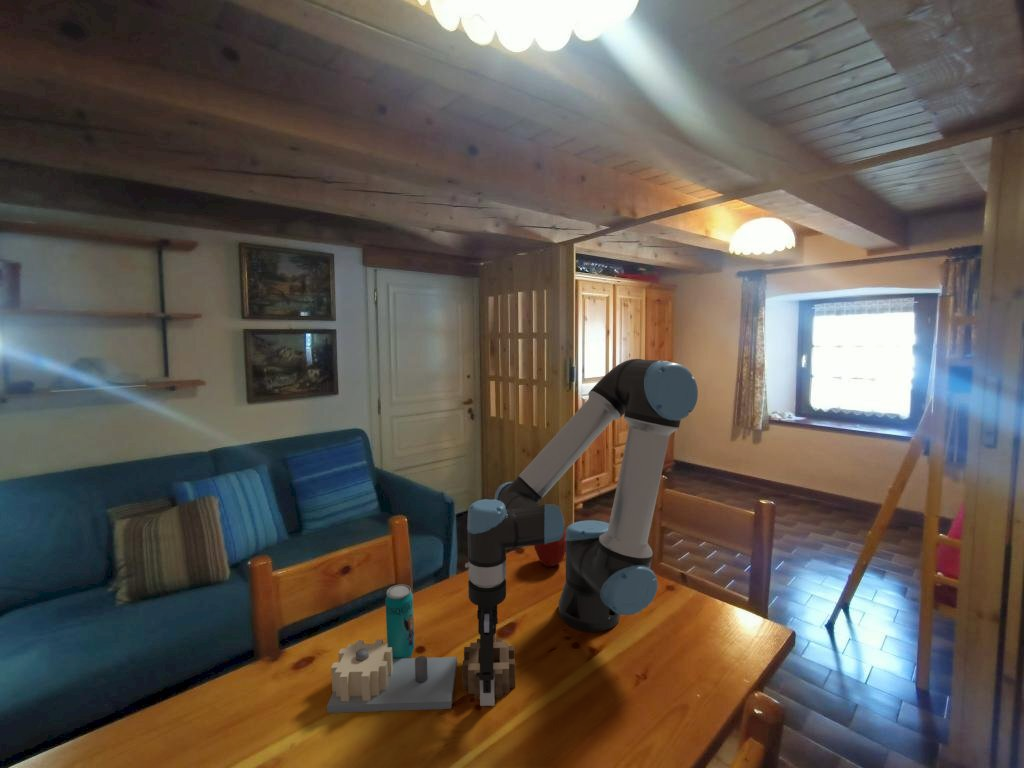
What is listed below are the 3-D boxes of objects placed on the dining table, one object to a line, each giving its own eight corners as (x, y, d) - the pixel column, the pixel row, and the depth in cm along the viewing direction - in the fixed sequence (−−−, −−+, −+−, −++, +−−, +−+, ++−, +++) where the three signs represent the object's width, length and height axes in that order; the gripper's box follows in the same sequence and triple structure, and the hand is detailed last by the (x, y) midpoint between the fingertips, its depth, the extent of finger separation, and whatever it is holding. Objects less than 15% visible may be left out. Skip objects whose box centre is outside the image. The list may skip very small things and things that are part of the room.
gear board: (457, 663, 98) (456, 630, 98) (451, 708, 86) (450, 671, 86) (347, 666, 98) (345, 633, 97) (326, 712, 86) (324, 675, 85)
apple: (571, 570, 136) (571, 525, 135) (538, 573, 135) (538, 528, 133) (562, 554, 147) (562, 512, 145) (531, 557, 145) (530, 514, 143)
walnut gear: (514, 659, 99) (513, 637, 99) (515, 697, 89) (515, 673, 88) (465, 660, 99) (465, 639, 99) (461, 698, 89) (461, 674, 88)
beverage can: (408, 666, 98) (405, 599, 96) (383, 662, 99) (380, 596, 97) (418, 648, 103) (416, 584, 102) (395, 645, 104) (392, 582, 103)
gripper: (472, 550, 104) (473, 638, 106) (463, 617, 79) (465, 730, 81) (505, 549, 104) (505, 637, 106) (506, 616, 79) (507, 729, 82)
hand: (488, 677), depth 94 cm, fingers open, 13 cm apart
